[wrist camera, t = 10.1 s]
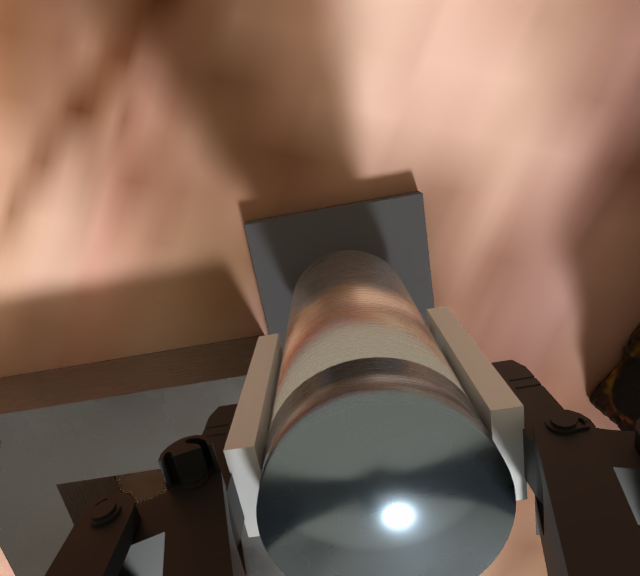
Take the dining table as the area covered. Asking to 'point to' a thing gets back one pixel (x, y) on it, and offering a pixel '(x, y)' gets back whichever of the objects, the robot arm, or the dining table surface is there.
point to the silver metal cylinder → (375, 439)
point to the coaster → (340, 248)
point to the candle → (622, 388)
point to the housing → (104, 438)
